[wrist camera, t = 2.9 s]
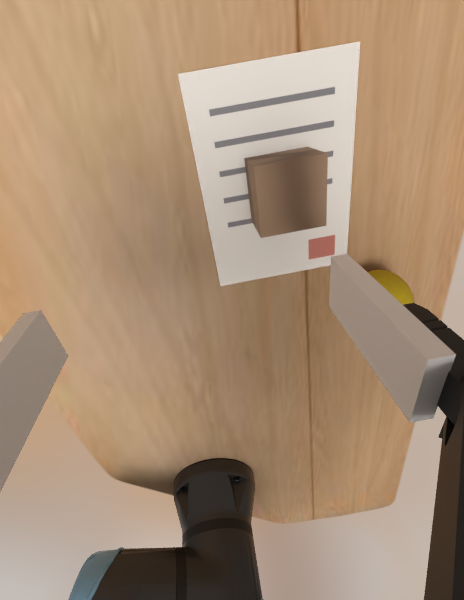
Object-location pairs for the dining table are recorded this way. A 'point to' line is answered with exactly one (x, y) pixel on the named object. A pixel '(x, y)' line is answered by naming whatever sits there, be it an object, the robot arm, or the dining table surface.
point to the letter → (272, 151)
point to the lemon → (393, 285)
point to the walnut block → (287, 190)
